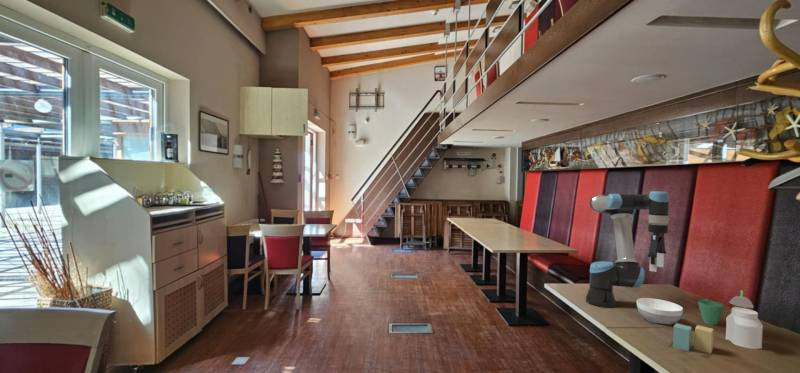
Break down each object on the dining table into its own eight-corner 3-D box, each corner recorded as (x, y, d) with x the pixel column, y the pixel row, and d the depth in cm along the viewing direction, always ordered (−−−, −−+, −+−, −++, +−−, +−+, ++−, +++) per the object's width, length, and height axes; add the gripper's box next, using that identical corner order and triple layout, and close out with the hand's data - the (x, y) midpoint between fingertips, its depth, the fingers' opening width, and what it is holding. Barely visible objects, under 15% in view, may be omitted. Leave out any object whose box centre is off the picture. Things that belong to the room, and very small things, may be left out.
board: (668, 349, 151) (668, 346, 151) (674, 340, 160) (674, 338, 160) (708, 360, 142) (708, 358, 142) (713, 351, 150) (713, 348, 150)
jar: (766, 352, 150) (767, 316, 149) (738, 349, 152) (739, 314, 152) (748, 340, 161) (749, 307, 161) (722, 337, 163) (723, 304, 163)
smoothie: (747, 338, 163) (749, 294, 163) (724, 331, 171) (726, 289, 170) (755, 334, 167) (757, 291, 167) (732, 328, 175) (734, 286, 174)
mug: (726, 328, 174) (727, 307, 174) (700, 324, 178) (701, 304, 178) (716, 318, 187) (717, 299, 187) (692, 314, 191) (693, 296, 191)
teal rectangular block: (672, 346, 151) (673, 326, 151) (675, 343, 155) (676, 323, 155) (688, 351, 148) (689, 330, 147) (690, 347, 151) (691, 326, 151)
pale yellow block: (694, 348, 150) (695, 328, 150) (696, 345, 153) (697, 324, 153) (710, 353, 146) (711, 332, 146) (712, 349, 150) (713, 328, 149)
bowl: (684, 321, 182) (685, 304, 182) (680, 332, 168) (680, 314, 168) (640, 311, 195) (640, 295, 194) (632, 321, 181) (633, 304, 181)
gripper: (661, 227, 159) (659, 275, 160) (673, 222, 176) (672, 266, 177) (641, 225, 165) (640, 271, 165) (655, 221, 182) (653, 263, 182)
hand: (656, 269), depth 171 cm, fingers open, 13 cm apart
